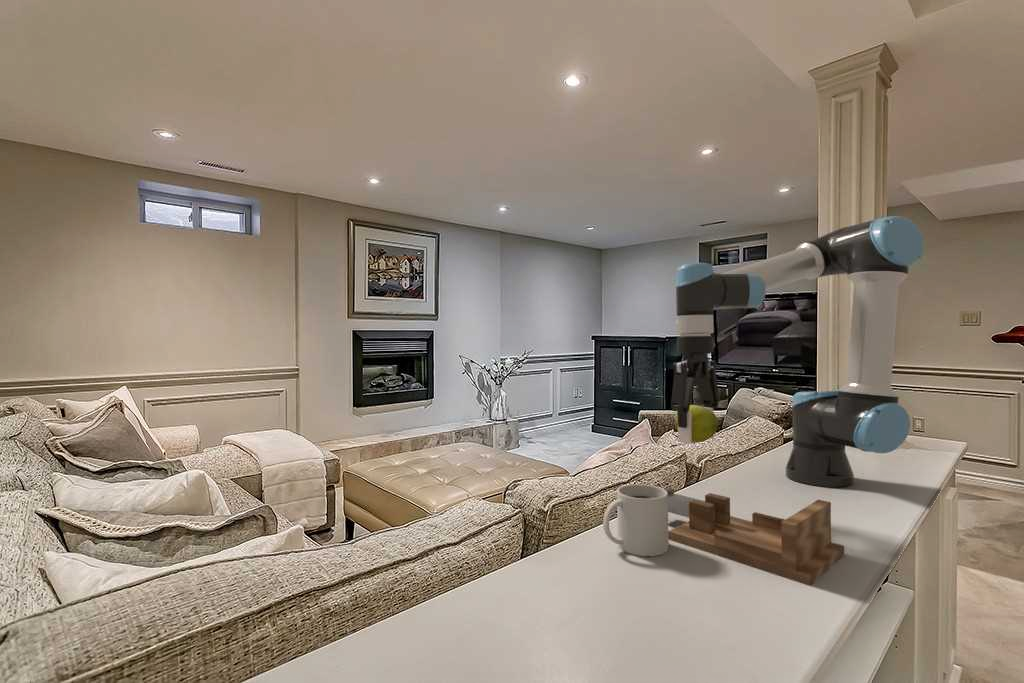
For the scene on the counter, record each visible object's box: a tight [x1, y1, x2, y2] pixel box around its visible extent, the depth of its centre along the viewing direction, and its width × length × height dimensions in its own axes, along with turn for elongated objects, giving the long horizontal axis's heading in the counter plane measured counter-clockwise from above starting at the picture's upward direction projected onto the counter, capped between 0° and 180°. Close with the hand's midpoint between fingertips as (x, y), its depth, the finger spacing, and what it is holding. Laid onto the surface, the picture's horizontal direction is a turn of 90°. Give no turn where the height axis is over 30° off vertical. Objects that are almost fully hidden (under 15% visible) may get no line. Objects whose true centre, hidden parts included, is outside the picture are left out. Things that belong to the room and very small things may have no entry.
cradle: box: [668, 492, 845, 586], centre depth 91 cm, size 16×24×8 cm, turn 41°
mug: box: [602, 483, 670, 557], centre depth 91 cm, size 11×10×10 cm
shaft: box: [663, 487, 714, 519], centre depth 100 cm, size 4×10×4 cm, turn 41°
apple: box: [674, 404, 719, 444], centre depth 110 cm, size 8×9×8 cm
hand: (696, 439), depth 110 cm, fingers closed on apple, 8 cm apart
